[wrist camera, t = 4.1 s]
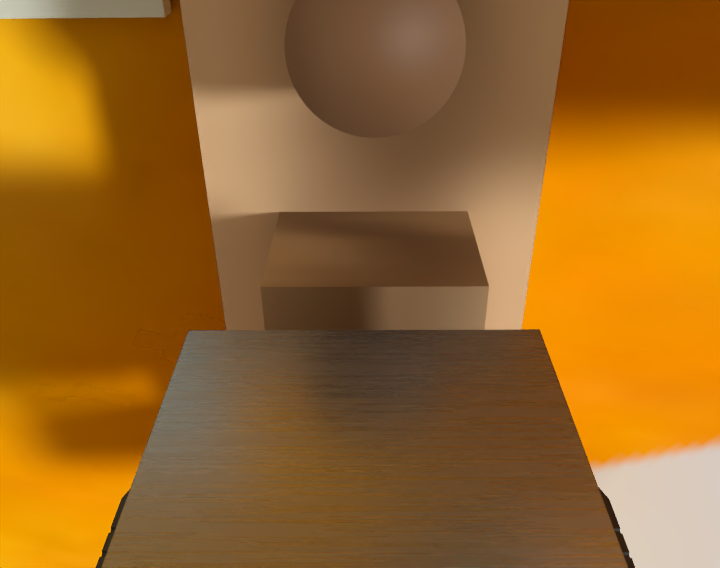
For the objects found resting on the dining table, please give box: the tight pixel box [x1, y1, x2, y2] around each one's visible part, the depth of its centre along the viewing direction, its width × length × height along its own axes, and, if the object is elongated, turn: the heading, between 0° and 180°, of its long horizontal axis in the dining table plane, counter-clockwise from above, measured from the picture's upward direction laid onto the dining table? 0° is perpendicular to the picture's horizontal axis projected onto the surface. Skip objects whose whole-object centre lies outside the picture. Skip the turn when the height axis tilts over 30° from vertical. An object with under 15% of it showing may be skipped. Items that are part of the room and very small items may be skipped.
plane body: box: [180, 0, 569, 330], centre depth 14 cm, size 7×16×9 cm, turn 1°
